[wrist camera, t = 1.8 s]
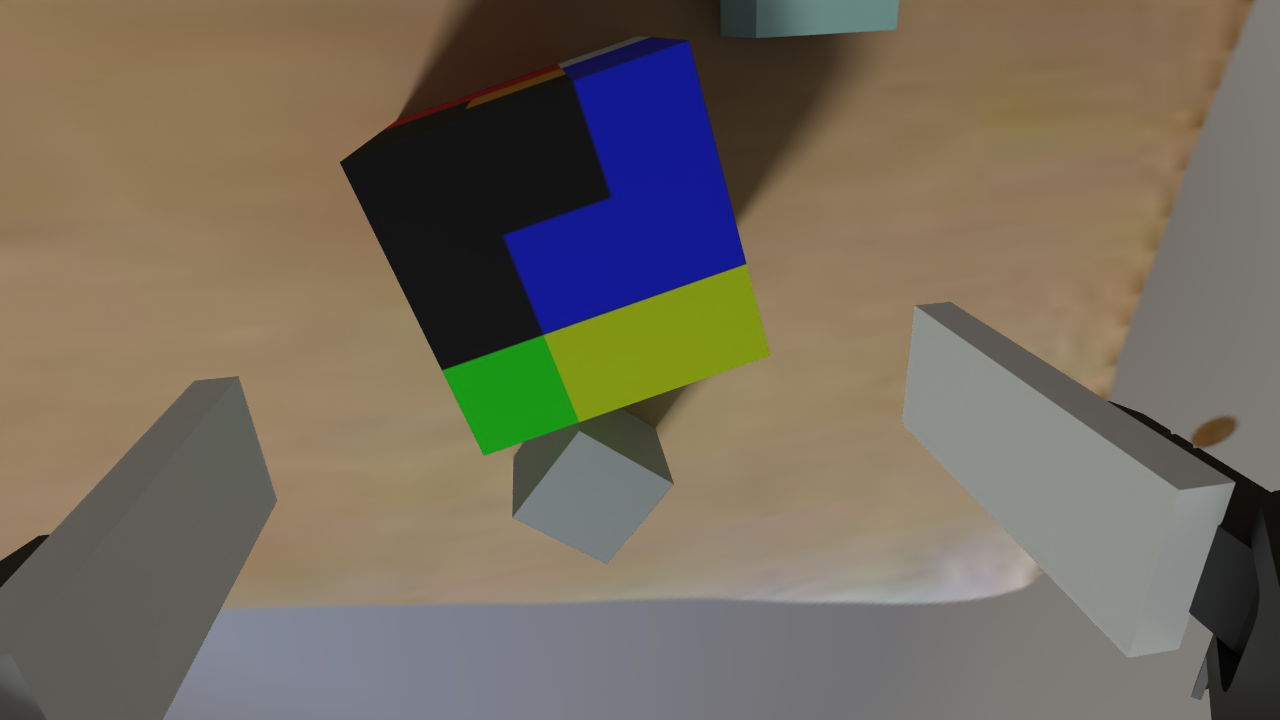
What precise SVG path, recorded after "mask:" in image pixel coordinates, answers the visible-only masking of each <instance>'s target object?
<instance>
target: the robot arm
mask: <svg viewBox="0 0 1280 720" xmlns="http://www.w3.org/2000/svg"><path fill="white" fill-rule="evenodd" d="M902 424H903V425H904V427H905V428H906V429H907V430H908V431H909V432H910V433H911V434H912V435H913V436H914V437H915V438H916V439H917V440H918V441H919V442H920V443H921V444H922V445H923V446H924V447H925V448H926V449H927V450H928V451H929V452H930V453H931V454H932V455H933V457H934V458H935V459H936V460H937V461H938V462H939V463H940V464H941V465H942V466H943V467H944V468H945V469H946V470H947V471H948V472H949V473H950V474H951V475H952V476H953V477H954V478H955V479H956V480H957V481H958V482H959V483H960V484H961V485H962V486H963V488H964V489H965V490H966V491H967V492H968V493H969V494H970V495H971V496H972V497H973V498H974V499H975V500H976V501H977V502H978V503H979V504H980V505H981V506H982V507H983V508H984V509H985V510H986V511H987V512H988V513H989V514H990V515H991V516H992V518H993V519H994V520H995V521H996V522H997V523H998V524H999V525H1000V526H1001V527H1002V528H1003V529H1004V530H1005V531H1006V532H1007V533H1008V534H1009V535H1010V536H1011V537H1012V538H1013V539H1014V540H1015V541H1016V542H1017V543H1018V544H1019V545H1020V546H1021V548H1022V549H1023V550H1024V551H1025V552H1026V553H1027V554H1028V555H1029V556H1030V557H1031V558H1032V559H1033V560H1034V561H1035V562H1036V563H1037V564H1038V565H1039V566H1040V567H1041V568H1042V569H1043V570H1044V571H1045V572H1046V573H1047V574H1048V575H1049V576H1050V577H1051V578H1052V580H1053V581H1054V582H1055V583H1056V584H1057V585H1058V586H1059V587H1060V588H1061V589H1062V590H1063V591H1064V592H1065V593H1066V594H1067V595H1068V596H1069V597H1070V598H1071V599H1072V600H1073V601H1074V602H1075V603H1076V604H1077V605H1078V606H1079V607H1080V609H1081V610H1082V611H1083V612H1084V613H1085V614H1086V615H1087V616H1088V617H1089V618H1090V619H1091V620H1092V621H1093V622H1094V623H1095V624H1096V625H1097V626H1098V627H1099V628H1100V629H1101V630H1102V631H1103V632H1104V633H1105V634H1106V635H1107V636H1108V637H1109V639H1111V641H1112V642H1113V643H1114V644H1115V645H1116V646H1117V647H1118V648H1119V649H1120V650H1121V651H1122V652H1123V653H1124V654H1125V655H1126V656H1127V657H1128V658H1129V657H1135V656H1140V655H1147V654H1153V653H1159V652H1165V651H1171V650H1177V649H1179V646H1180V643H1181V640H1182V637H1183V635H1184V632H1185V629H1186V626H1187V623H1188V619H1189V617H1190V614H1192V615H1193V616H1194V617H1195V618H1196V619H1197V620H1198V621H1200V622H1201V623H1202V624H1203V625H1204V626H1205V627H1207V628H1208V629H1209V630H1210V631H1211V632H1212V633H1213V636H1212V639H1211V642H1210V645H1209V648H1208V650H1207V653H1206V656H1205V658H1204V661H1203V664H1202V666H1201V669H1200V672H1199V675H1198V678H1197V680H1196V683H1195V686H1194V689H1193V692H1192V696H1191V697H1193V698H1196V699H1199V700H1201V699H1202V696H1203V694H1204V691H1205V690H1206V689H1208V688H1209V695H1210V707H1211V718H1212V720H1280V490H1278V491H1274V492H1269V491H1268V490H1266V489H1264V488H1263V487H1261V486H1260V485H1258V484H1256V483H1255V482H1253V481H1251V480H1250V479H1248V478H1246V477H1245V476H1243V475H1242V474H1240V473H1238V472H1237V471H1235V470H1233V469H1232V468H1230V467H1229V466H1227V465H1226V464H1224V463H1222V462H1221V461H1219V460H1217V459H1216V458H1214V457H1213V456H1211V455H1209V454H1208V453H1206V452H1204V451H1203V450H1201V449H1200V448H1193V444H1191V443H1190V442H1188V441H1187V440H1185V439H1183V438H1182V437H1180V436H1178V435H1176V434H1171V431H1170V430H1168V429H1167V428H1165V427H1164V426H1162V425H1160V424H1159V423H1157V422H1156V421H1154V420H1152V419H1151V418H1149V417H1147V416H1146V415H1144V414H1142V413H1140V412H1137V411H1134V410H1131V409H1129V408H1126V407H1124V406H1121V405H1118V404H1116V403H1113V402H1110V401H1106V400H1105V399H1103V398H1102V397H1100V396H1098V395H1097V394H1095V393H1094V392H1092V391H1090V390H1089V389H1087V388H1086V387H1084V386H1083V385H1081V384H1079V383H1078V382H1076V381H1075V380H1073V379H1071V378H1070V377H1068V376H1067V375H1065V374H1064V373H1062V372H1060V371H1059V370H1057V369H1056V368H1054V367H1052V366H1051V365H1049V364H1048V363H1046V362H1045V361H1043V360H1041V359H1040V358H1038V357H1037V356H1035V355H1034V354H1032V353H1030V352H1029V351H1027V350H1026V349H1024V348H1022V347H1021V346H1019V345H1018V344H1016V343H1015V342H1013V341H1011V340H1010V339H1008V338H1007V337H1005V336H1003V335H1002V334H1000V333H999V332H997V331H996V330H994V329H992V328H991V327H989V326H988V325H986V324H984V323H983V322H981V321H980V320H978V319H977V318H975V317H973V316H972V315H970V314H969V313H967V312H966V311H964V310H962V309H961V308H959V307H958V306H956V305H954V304H953V303H951V302H945V303H935V304H926V305H916V306H915V309H914V318H913V327H912V336H911V345H910V354H909V363H908V372H907V381H906V390H905V399H904V408H903V417H902ZM276 502H277V498H276V495H275V492H274V489H273V486H272V482H271V479H270V476H269V473H268V470H267V466H266V463H265V460H264V457H263V453H262V450H261V447H260V444H259V441H258V437H257V434H256V431H255V428H254V425H253V421H252V418H251V415H250V412H249V409H248V405H247V402H246V399H245V396H244V393H243V389H242V386H241V383H240V380H239V376H236V377H227V378H217V379H208V380H198V381H194V382H193V383H192V384H191V385H190V386H189V387H188V388H187V389H186V390H185V391H184V393H183V394H182V395H181V396H180V397H179V398H178V399H177V400H176V401H175V402H174V403H173V404H172V405H171V406H170V407H169V409H168V410H167V411H166V412H165V413H164V414H163V415H162V416H161V417H160V418H159V419H158V420H157V421H156V422H155V423H154V425H153V426H152V427H151V428H150V429H149V430H148V431H147V432H146V433H145V434H144V435H143V436H142V437H141V438H140V439H139V441H138V442H137V443H136V444H135V445H134V446H133V447H132V448H131V449H130V450H129V451H128V452H127V453H126V454H125V455H124V457H123V458H122V459H121V460H120V461H119V462H118V463H117V464H116V465H115V466H114V467H113V468H112V469H111V470H110V471H109V473H108V474H107V475H106V476H105V477H104V478H103V479H102V480H101V481H100V482H99V483H98V484H97V485H96V486H95V487H94V489H93V490H92V491H91V492H90V493H89V494H88V495H87V496H86V497H85V498H84V499H83V500H82V501H81V502H80V503H79V505H78V506H77V507H76V508H75V509H74V510H73V511H72V512H71V513H70V514H69V515H68V516H67V517H66V518H65V519H64V521H63V522H62V523H61V524H60V525H59V526H58V527H57V528H56V529H55V530H54V531H53V532H52V533H51V534H50V535H42V536H38V537H36V538H35V539H33V540H32V541H30V542H29V543H27V544H26V545H24V546H23V547H21V548H20V549H18V550H17V551H15V552H14V553H12V554H10V555H9V556H7V557H6V558H4V559H3V560H1V561H0V720H163V718H164V716H165V715H166V713H167V711H168V709H169V707H170V705H171V703H172V701H173V699H174V697H175V695H176V693H177V691H178V690H179V688H180V686H181V684H182V682H183V680H184V678H185V676H186V674H187V672H188V670H189V669H190V666H191V665H192V663H193V661H194V659H195V657H196V655H197V653H198V651H199V649H200V647H201V646H202V644H203V641H204V640H205V638H206V636H207V634H208V632H209V630H210V628H211V626H212V624H213V623H214V621H215V619H216V617H217V615H218V613H219V611H220V609H221V607H222V605H223V603H224V602H225V600H226V598H227V596H228V594H229V592H230V590H231V588H232V586H233V584H234V582H235V580H236V579H237V577H238V575H239V573H240V571H241V569H242V567H243V565H244V563H245V561H246V559H247V557H248V556H249V554H250V552H251V550H252V548H253V546H254V544H255V542H256V540H257V538H258V536H259V534H260V533H261V531H262V529H263V527H264V525H265V523H266V521H267V519H268V517H269V515H270V513H271V511H272V510H273V508H274V506H275V504H276Z"/></svg>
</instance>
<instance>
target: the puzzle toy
mask: <svg viewBox="0 0 1280 720" xmlns="http://www.w3.org/2000/svg"><path fill="white" fill-rule="evenodd" d="M340 164H341V166H342V168H343V170H344V172H345V174H346V176H347V178H348V180H349V182H350V184H351V186H352V188H353V190H354V192H355V194H356V196H357V198H358V200H359V202H360V204H361V206H362V209H363V211H364V213H365V215H366V217H367V219H368V221H369V223H370V225H371V227H372V229H373V231H374V233H375V235H376V237H377V239H378V241H379V243H380V245H381V247H382V249H383V251H384V253H385V255H386V257H387V259H388V261H389V263H390V266H391V268H392V270H393V272H394V274H395V276H396V278H397V280H398V282H399V284H400V286H401V288H402V290H403V292H404V294H405V296H406V298H407V300H408V302H409V304H410V306H411V308H412V310H413V312H414V314H415V316H416V318H417V320H418V322H419V325H420V327H421V329H422V331H423V333H424V335H425V337H426V339H427V341H428V343H429V345H430V347H431V349H432V351H433V353H434V355H435V357H436V359H437V361H438V363H439V365H440V367H441V369H442V371H443V373H444V375H445V377H446V379H447V382H448V384H449V386H450V388H451V390H452V392H453V394H454V396H455V398H456V400H457V402H458V404H459V406H460V408H461V410H462V412H463V414H464V416H465V418H466V420H467V422H468V424H469V426H470V428H471V430H472V432H473V434H474V436H475V439H476V441H477V443H478V445H479V447H480V449H481V451H482V453H483V455H487V454H490V453H493V452H496V451H499V450H502V449H504V448H507V447H510V446H513V445H516V444H519V443H522V442H524V441H527V440H530V439H533V438H536V437H539V436H542V435H544V434H547V433H550V432H553V431H556V430H559V429H562V428H564V427H567V426H570V425H573V424H576V423H579V422H582V421H584V420H587V419H590V418H593V417H596V416H599V415H602V414H604V413H607V412H610V411H613V410H616V409H619V408H622V407H624V406H627V405H630V404H633V403H636V402H639V401H642V400H644V399H647V398H650V397H653V396H656V395H659V394H662V393H664V392H667V391H670V390H673V389H676V388H679V387H682V386H684V385H687V384H690V383H693V382H696V381H699V380H702V379H704V378H707V377H710V376H713V375H716V374H719V373H722V372H724V371H727V370H730V369H733V368H736V367H739V366H742V365H744V364H747V363H750V362H753V361H756V360H759V359H762V358H764V357H767V356H770V353H769V350H768V346H767V342H766V338H765V334H764V330H763V326H762V322H761V319H760V315H759V311H758V307H757V303H756V299H755V295H754V291H753V288H752V284H751V280H750V276H749V272H748V268H747V264H746V260H745V257H744V253H743V249H742V245H741V241H740V237H739V233H738V229H737V226H736V222H735V218H734V214H733V210H732V206H731V202H730V198H729V195H728V191H727V187H726V183H725V179H724V175H723V171H722V167H721V164H720V160H719V156H718V152H717V148H716V144H715V140H714V136H713V133H712V129H711V125H710V121H709V117H708V113H707V109H706V105H705V102H704V98H703V94H702V90H701V86H700V82H699V78H698V74H697V71H696V67H695V63H694V59H693V55H692V51H691V47H690V43H689V40H678V39H666V38H653V37H640V36H636V37H634V38H631V39H628V40H625V41H622V42H619V43H616V44H614V45H611V46H608V47H605V48H602V49H599V50H596V51H594V52H591V53H588V54H585V55H582V56H579V57H576V58H574V59H571V60H568V61H565V62H562V63H559V64H556V65H553V66H551V67H548V68H545V69H542V70H539V71H536V72H533V73H531V74H528V75H525V76H522V77H519V78H516V79H513V80H511V81H508V82H505V83H502V84H499V85H496V86H493V87H491V88H488V89H485V90H482V91H479V92H476V93H473V94H471V95H468V96H465V97H462V98H459V99H456V100H453V101H451V102H448V103H445V104H442V105H439V106H436V107H433V108H431V109H428V110H425V111H422V112H419V113H416V114H413V115H411V116H408V117H405V118H402V119H399V120H397V121H395V122H394V123H392V124H391V125H390V126H388V127H387V128H386V129H384V130H383V131H382V132H380V133H379V134H378V135H376V136H375V137H373V138H372V139H371V140H369V141H368V142H367V143H365V144H364V145H363V146H361V147H360V148H359V149H357V150H356V151H355V152H353V153H352V154H350V155H349V156H348V157H346V158H345V159H344V160H342V161H341V162H340Z"/></svg>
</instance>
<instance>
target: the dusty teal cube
mask: <svg viewBox="0 0 1280 720" xmlns="http://www.w3.org/2000/svg"><path fill="white" fill-rule="evenodd" d="M898 6H899V0H720V20H721V36H725V37H743V38H768V37H785V36H801V35H817V34H834V33H850V32H866V31H882V30H896V29H897V17H898Z"/></svg>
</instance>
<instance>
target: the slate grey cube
mask: <svg viewBox="0 0 1280 720" xmlns="http://www.w3.org/2000/svg"><path fill="white" fill-rule="evenodd" d="M673 485H674V483H673V480H672V477H671V474H670V471H669V468H668V465H667V462H666V459H665V456H664V453H663V450H662V447H661V444H660V441H659V438H658V435H657V432H656V429H655V428H654V427H652V426H650V425H649V424H647V423H645V422H643V421H642V420H640V419H638V418H637V417H635V416H633V415H632V414H630V413H628V412H627V411H625V410H623V409H622V408H619V409H616V410H613V411H610V412H607V413H604V414H602V415H599V416H596V417H593V418H590V419H587V420H584V421H582V422H579V423H576V424H573V425H570V426H567V427H564V428H562V429H559V430H556V431H553V432H550V433H547V434H544V435H542V436H539V437H536V438H533V439H530V440H527V441H525V442H524V444H523V445H522V446H521V448H520V449H519V450H518V452H517V453H516V454H515V456H514V463H513V514H512V518H514V519H516V520H518V521H520V522H522V523H524V524H526V525H528V526H530V527H532V528H535V529H537V530H539V531H541V532H543V533H545V534H547V535H549V536H551V537H553V538H555V539H557V540H559V541H561V542H563V543H565V544H567V545H569V546H571V547H573V548H575V549H577V550H579V551H581V552H583V553H585V554H587V555H589V556H591V557H593V558H595V559H597V560H599V561H601V562H603V563H605V564H608V562H609V561H610V560H611V559H612V558H613V556H614V555H615V554H616V553H617V552H618V550H619V549H620V548H621V547H622V546H623V545H624V543H625V542H626V541H627V540H628V539H629V537H630V536H631V535H632V534H633V533H634V531H635V530H636V529H637V528H638V527H639V525H640V524H641V523H642V522H643V521H644V519H645V518H646V517H647V516H648V515H649V513H650V512H651V511H652V510H653V509H654V507H655V506H656V505H657V504H658V503H659V501H660V500H661V499H662V498H663V497H664V495H665V494H666V493H667V492H668V491H669V490H670V488H671V487H672V486H673Z"/></svg>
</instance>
